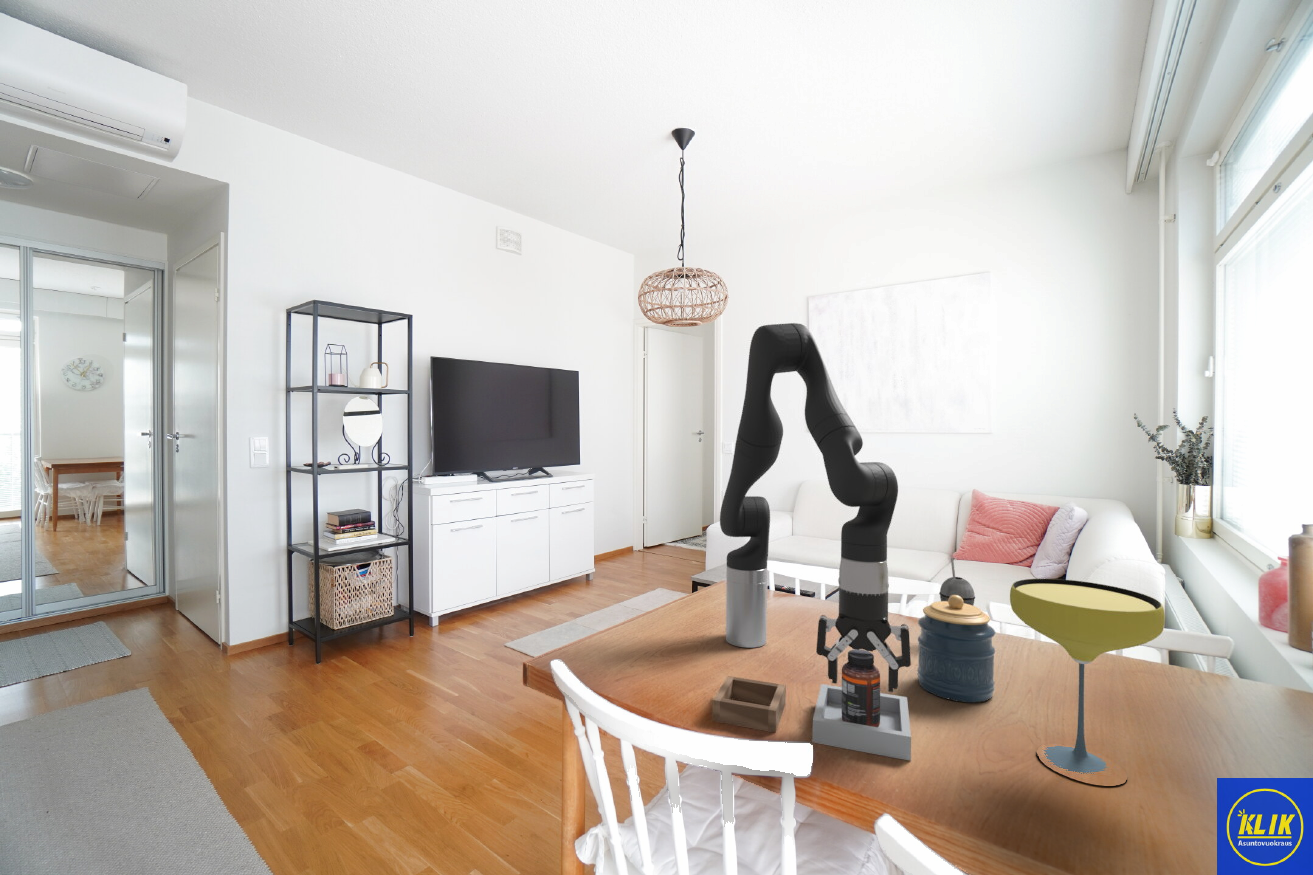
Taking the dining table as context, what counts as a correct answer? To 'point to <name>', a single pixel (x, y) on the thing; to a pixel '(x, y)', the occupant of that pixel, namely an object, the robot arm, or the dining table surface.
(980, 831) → the dining table surface
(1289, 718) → the dining table surface
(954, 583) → the beverage cup
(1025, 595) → the cocktail glass
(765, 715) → the socket block
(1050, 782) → the dining table surface
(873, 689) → the supplement bottle
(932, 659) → the canister
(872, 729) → the tray
